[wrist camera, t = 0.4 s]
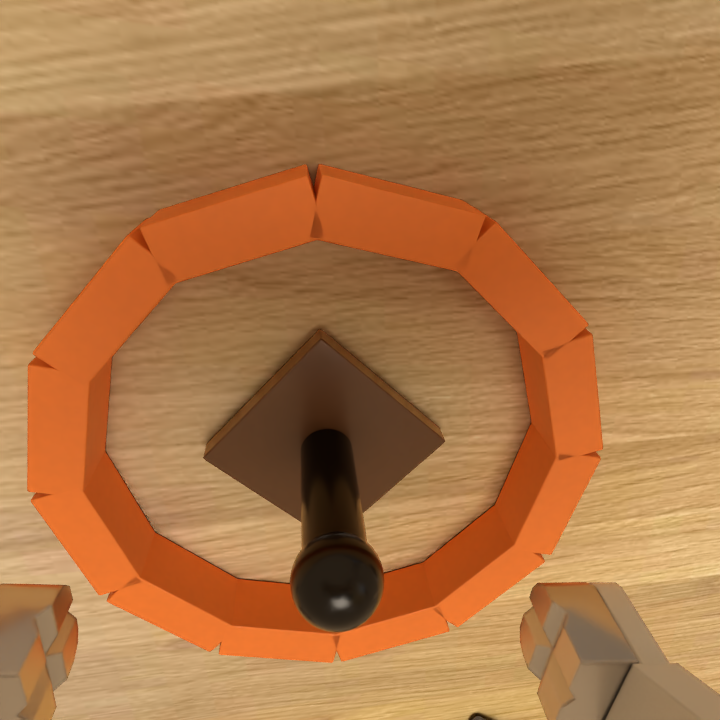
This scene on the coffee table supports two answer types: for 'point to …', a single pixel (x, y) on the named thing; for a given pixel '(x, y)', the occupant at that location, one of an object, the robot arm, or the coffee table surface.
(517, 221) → the coffee table surface
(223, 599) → the hoop
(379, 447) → the post
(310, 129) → the coffee table surface
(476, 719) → the cloth
